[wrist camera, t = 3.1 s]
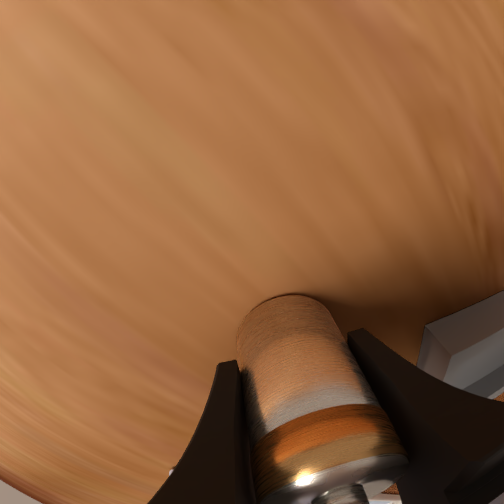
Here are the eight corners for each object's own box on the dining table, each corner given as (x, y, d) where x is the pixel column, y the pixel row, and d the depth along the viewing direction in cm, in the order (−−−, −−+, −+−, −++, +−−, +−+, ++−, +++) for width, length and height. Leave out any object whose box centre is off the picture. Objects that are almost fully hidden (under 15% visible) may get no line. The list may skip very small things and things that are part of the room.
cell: (335, 359, 13) (401, 505, 6) (246, 380, 13) (272, 542, 6) (332, 283, 11) (439, 453, 4) (224, 307, 11) (244, 513, 4)
